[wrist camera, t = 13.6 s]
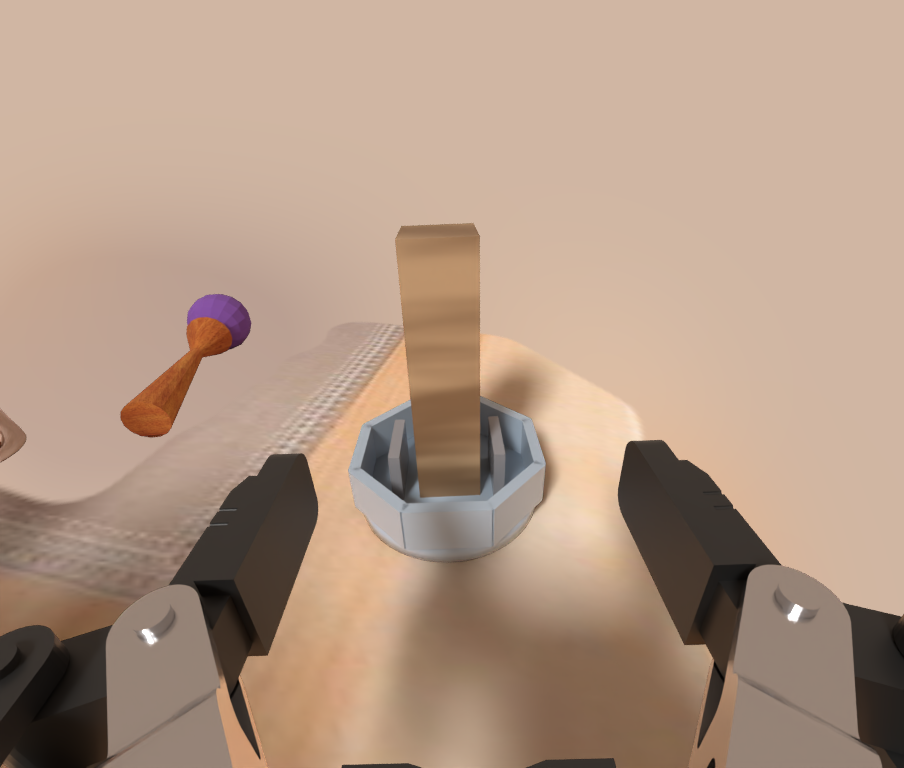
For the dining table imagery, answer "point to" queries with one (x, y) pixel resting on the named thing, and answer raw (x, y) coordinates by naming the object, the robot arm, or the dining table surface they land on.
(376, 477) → the blue-grey octagonal holder
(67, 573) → the dining table surface
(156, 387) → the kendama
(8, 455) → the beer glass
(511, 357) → the dining table surface
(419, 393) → the wooden block
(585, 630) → the dining table surface
